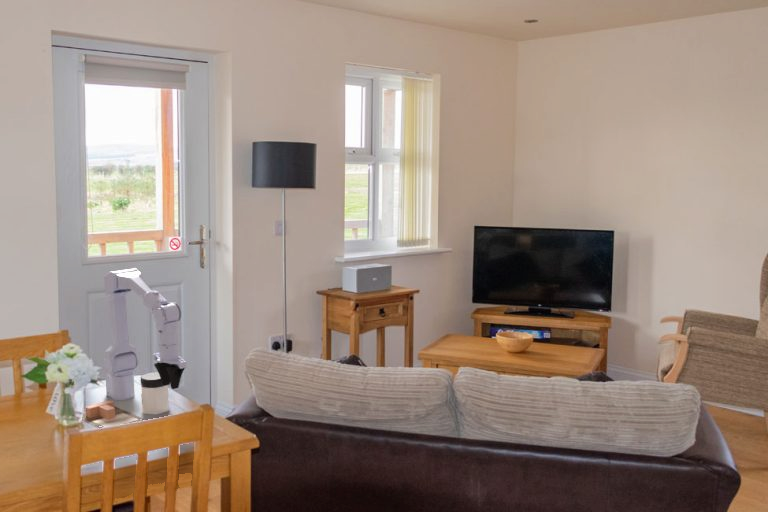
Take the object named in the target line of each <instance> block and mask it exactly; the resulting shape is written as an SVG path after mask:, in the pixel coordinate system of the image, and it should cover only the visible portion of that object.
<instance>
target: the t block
mask: <svg viewBox="0 0 768 512" xmlns="http://www.w3.org/2000/svg"><path fill="white" fill-rule="evenodd" d="M114 406H115V403H114V401H112V400H106V401H101V402H98V403H94V404H91V405H87V406H85V411H86V416H87V417H89V418H92V417H96V416H101V417H103V418H105V419H107V420H109V419H112V418H115V408H114Z"/></svg>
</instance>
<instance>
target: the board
mask: <svg viewBox="0 0 768 512" xmlns="http://www.w3.org/2000/svg"><path fill="white" fill-rule="evenodd" d="M114 408H115V418H112V419H109V420H107V419H105V418H103V417H101V416H96V417H92V418H89V417H87V416H86V410H85V411H83V412H84V413H83V417H82V420H81V421H83V422H85V423H87V424H90V425H92V426H94V427H96V428H97V427H98V428H97V429H100V428H102V427H108V426H116V425H120V424H126V423H130V424H132V423H131V422H134V423H137V422H140V421H143V420H145V418H143V417H141V416H139V415H136V414H135V413H131V412H129V411H126V410H124V409H122V408H120V407H117V406H115V405H114ZM140 419H142V420H140ZM136 421H137V422H136ZM99 426H102V427H99Z"/></svg>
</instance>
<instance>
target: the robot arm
mask: <svg viewBox="0 0 768 512" xmlns="http://www.w3.org/2000/svg"><path fill="white" fill-rule="evenodd" d="M104 290H105V295H106V296H108V305H109V306H108V307H109V318H110V320H109V321H110V329H111V340H112V341H111V342H112V344H111V345H110V346H109V347H108V348H107V349H106V350H105V351H104V360H103V368H104V370H105V372H106V373H107V375H106V376H105V390H106V396H108V397H111V399H112V400H116V401H123V400H130V399H132V398H134V397H135V377H134V376H135V375H134V374H135V372H136V369H137V368H138V367H139V363H140V359H139V355H138V353H137V352H138V351H137V348H136V347H135V346H134V345H132V344H131V343H130V339H129V327H128V325H129V324H128V315H127V302H126V301H127V300H126V297H127V295H128V294H130V292H131V291H132V292H134V293H135V294H136V295H138V296H139V297H140V298H141V299H142V304H143V306H144V307H145V308H146V309H147V310H148V311H150V313H152V314H153V315H152V316H153V319H154V322H155V326H156V327H155V328H156V329H157V332H158V349H159V351H158V352H155V353H153V354H152V356H153V357H152V358H153V361H156V362H155V363H154V364H153V365H154V367H155V369H156V372H158V373H159V375H160V378H161V381H162V384H163V386H166V385H168V386H169V385H170V387H171V389H172V390H176V389H178V388H179V387H180V382H181V378H182V375H183V373H184V371H185V369H186V368H187V360H184V359H183V358H182V357H181V356H180V349H179V344H180V343H179V327H178V324H179V323H178V322H179V321H180V320H181V319H182V309H181V307H180V305H179V304H178V303H177V302H172V301H168V300H167V299H166V298H165V297H164V296H163V295H162V294H161V293H160V292H159V291H158V290H152V289H150V287H149V286H148V284H146V283H145V281H144V280H143V276H142V272H141V271H139V269H138V268H136V267H133V268H129V269H128V268H127V269H121V270H114V271H113V270H112V271H111V270H110V271H108V272H107V273H106V275H105V276H104Z"/></svg>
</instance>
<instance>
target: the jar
mask: <svg viewBox="0 0 768 512" xmlns="http://www.w3.org/2000/svg"><path fill="white" fill-rule="evenodd" d="M140 386H141V394H140V395H141V405H142V414H147V415H160V414H162V413H167V412H169V411H170V408H169V407H170V405H169V402H170V401H169V385H166V386H163V384H162V381H161V378H160V375H159V373H158V371H155V372H153V371H152V372H148V373H144V374H142V375H141V376H140Z"/></svg>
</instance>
